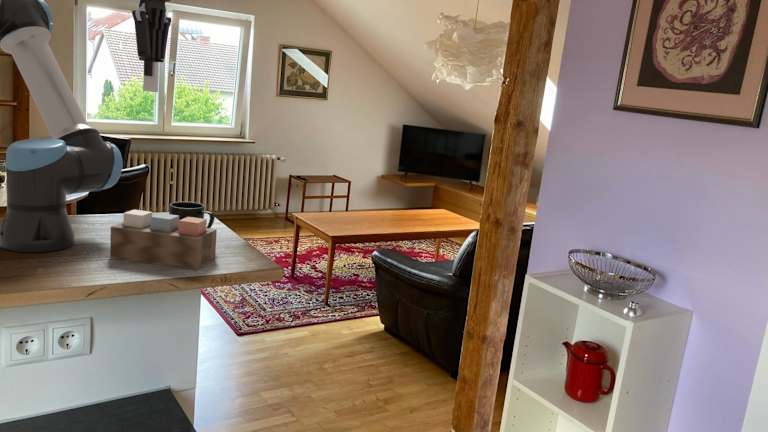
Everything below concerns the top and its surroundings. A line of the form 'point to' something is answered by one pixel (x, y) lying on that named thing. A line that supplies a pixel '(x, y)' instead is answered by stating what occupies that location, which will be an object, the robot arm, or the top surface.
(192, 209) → the mug
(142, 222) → the ivory key
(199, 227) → the terracotta key
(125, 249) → the brown wooden block
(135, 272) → the top surface
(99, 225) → the top surface
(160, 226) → the slate key
